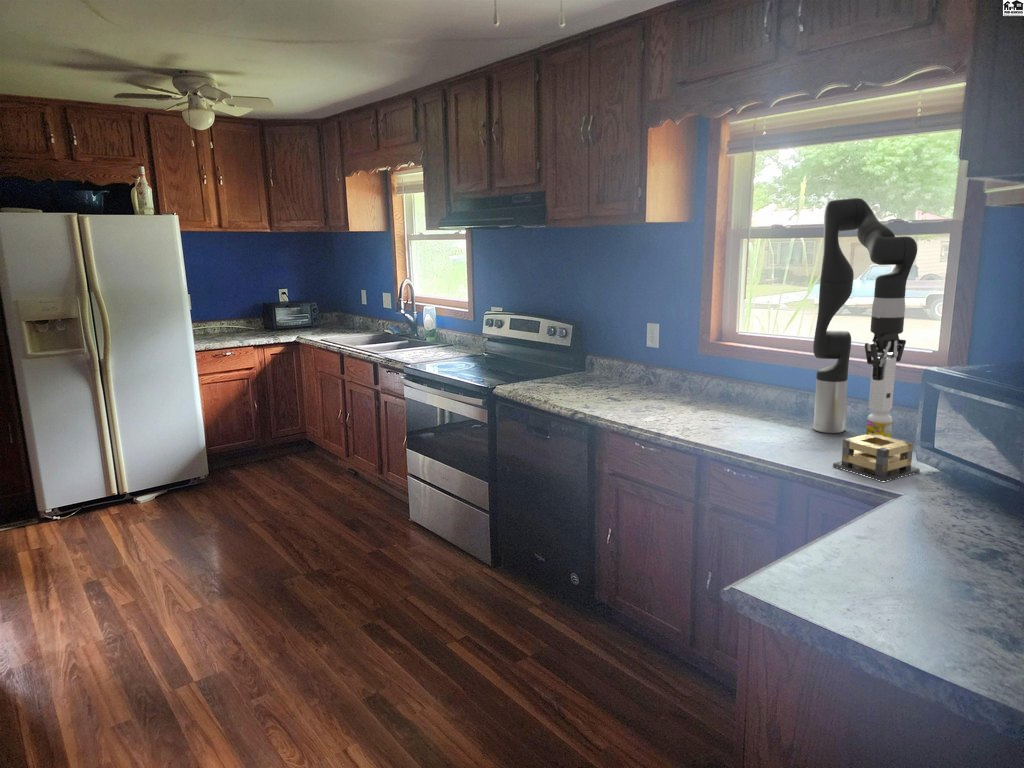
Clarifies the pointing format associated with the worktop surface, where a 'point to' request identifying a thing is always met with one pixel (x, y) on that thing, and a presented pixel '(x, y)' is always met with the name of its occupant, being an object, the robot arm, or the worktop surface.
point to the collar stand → (877, 457)
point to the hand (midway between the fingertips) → (882, 378)
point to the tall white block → (883, 386)
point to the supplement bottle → (879, 423)
